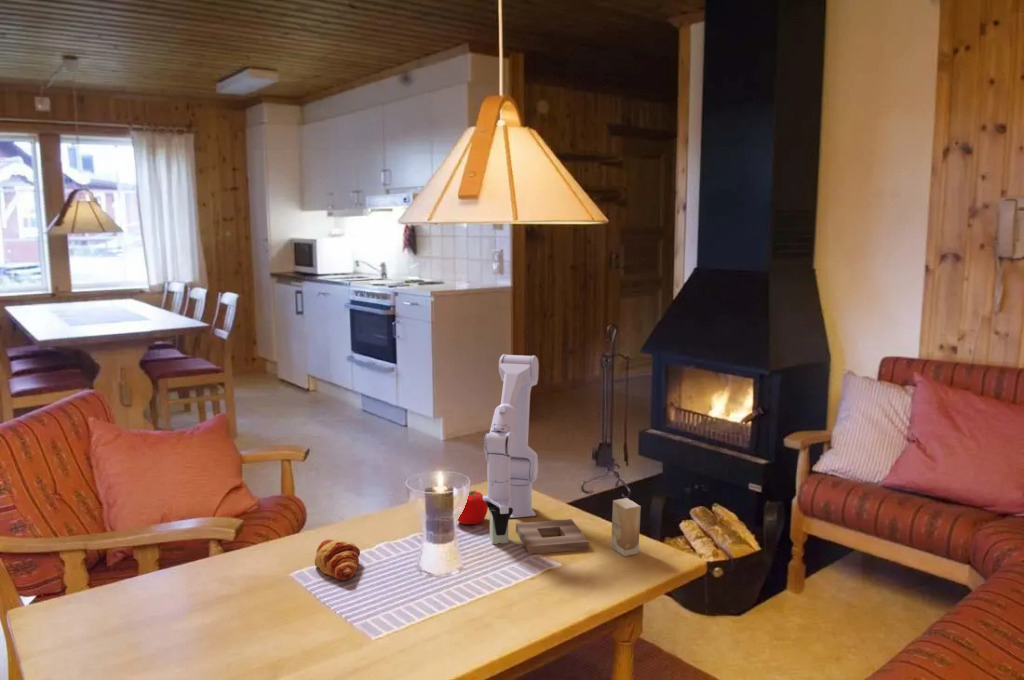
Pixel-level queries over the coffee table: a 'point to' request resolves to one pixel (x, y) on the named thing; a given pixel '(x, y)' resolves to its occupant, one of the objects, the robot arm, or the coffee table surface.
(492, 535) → the sage peg
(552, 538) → the walnut socket frame
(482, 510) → the tomato
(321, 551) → the croissant
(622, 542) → the skincare box
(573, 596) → the coffee table surface
